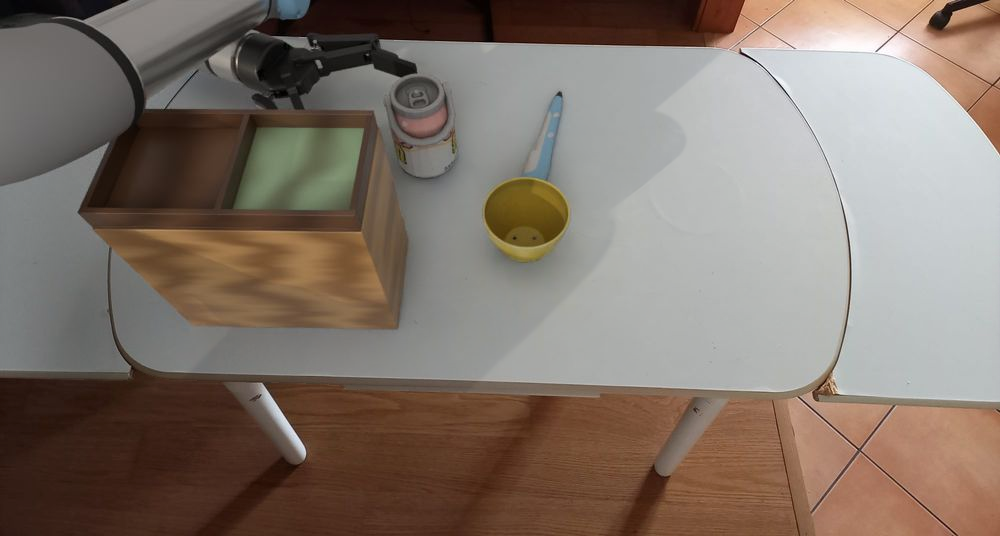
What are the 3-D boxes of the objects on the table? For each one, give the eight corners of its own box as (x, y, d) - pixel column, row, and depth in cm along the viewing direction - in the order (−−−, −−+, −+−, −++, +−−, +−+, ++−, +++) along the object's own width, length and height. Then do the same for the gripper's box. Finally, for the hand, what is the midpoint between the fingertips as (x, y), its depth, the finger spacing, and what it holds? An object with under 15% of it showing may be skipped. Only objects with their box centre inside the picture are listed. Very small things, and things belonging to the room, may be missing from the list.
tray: (93, 228, 54) (76, 212, 52) (137, 125, 60) (124, 108, 58) (360, 231, 54) (354, 215, 52) (378, 127, 60) (373, 109, 58)
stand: (192, 326, 71) (91, 229, 54) (219, 237, 78) (137, 125, 60) (398, 329, 71) (362, 232, 54) (408, 239, 77) (379, 127, 60)
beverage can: (467, 180, 82) (460, 115, 71) (404, 194, 81) (389, 130, 70) (451, 130, 86) (443, 62, 76) (392, 142, 85) (376, 75, 75)
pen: (541, 200, 80) (542, 187, 77) (517, 196, 80) (517, 182, 78) (569, 96, 89) (571, 81, 87) (547, 93, 90) (549, 78, 87)
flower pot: (564, 211, 79) (568, 176, 73) (567, 280, 74) (572, 248, 68) (485, 211, 79) (483, 176, 73) (483, 280, 74) (481, 248, 68)
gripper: (313, 26, 92) (438, 67, 87) (208, 143, 81) (345, 198, 76) (298, -19, 85) (432, 23, 81) (181, 102, 74) (329, 159, 70)
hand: (390, 108), depth 78 cm, fingers open, 13 cm apart
